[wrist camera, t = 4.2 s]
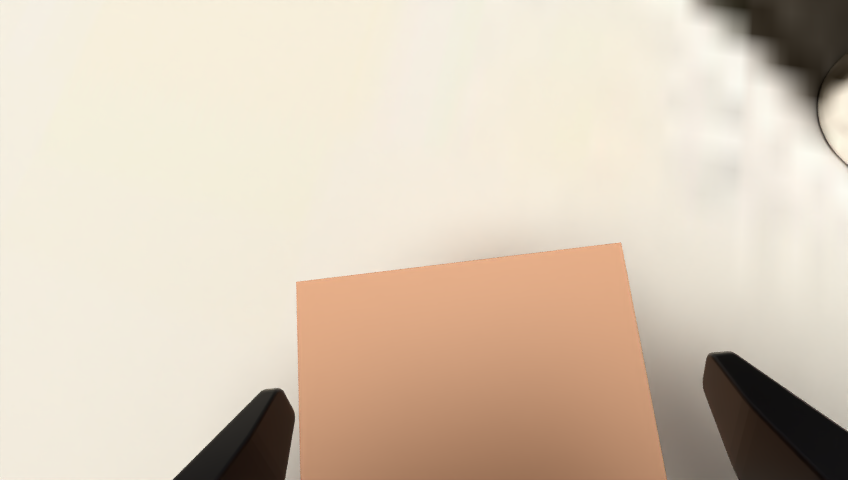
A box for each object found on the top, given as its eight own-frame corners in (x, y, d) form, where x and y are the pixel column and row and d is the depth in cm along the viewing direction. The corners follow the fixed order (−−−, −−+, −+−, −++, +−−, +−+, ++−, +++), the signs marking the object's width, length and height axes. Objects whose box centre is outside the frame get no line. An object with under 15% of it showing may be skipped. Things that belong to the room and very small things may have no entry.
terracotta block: (578, 449, 16) (700, 654, 5) (437, 456, 17) (304, 645, 6) (556, 304, 17) (621, 242, 7) (425, 318, 18) (296, 282, 7)
